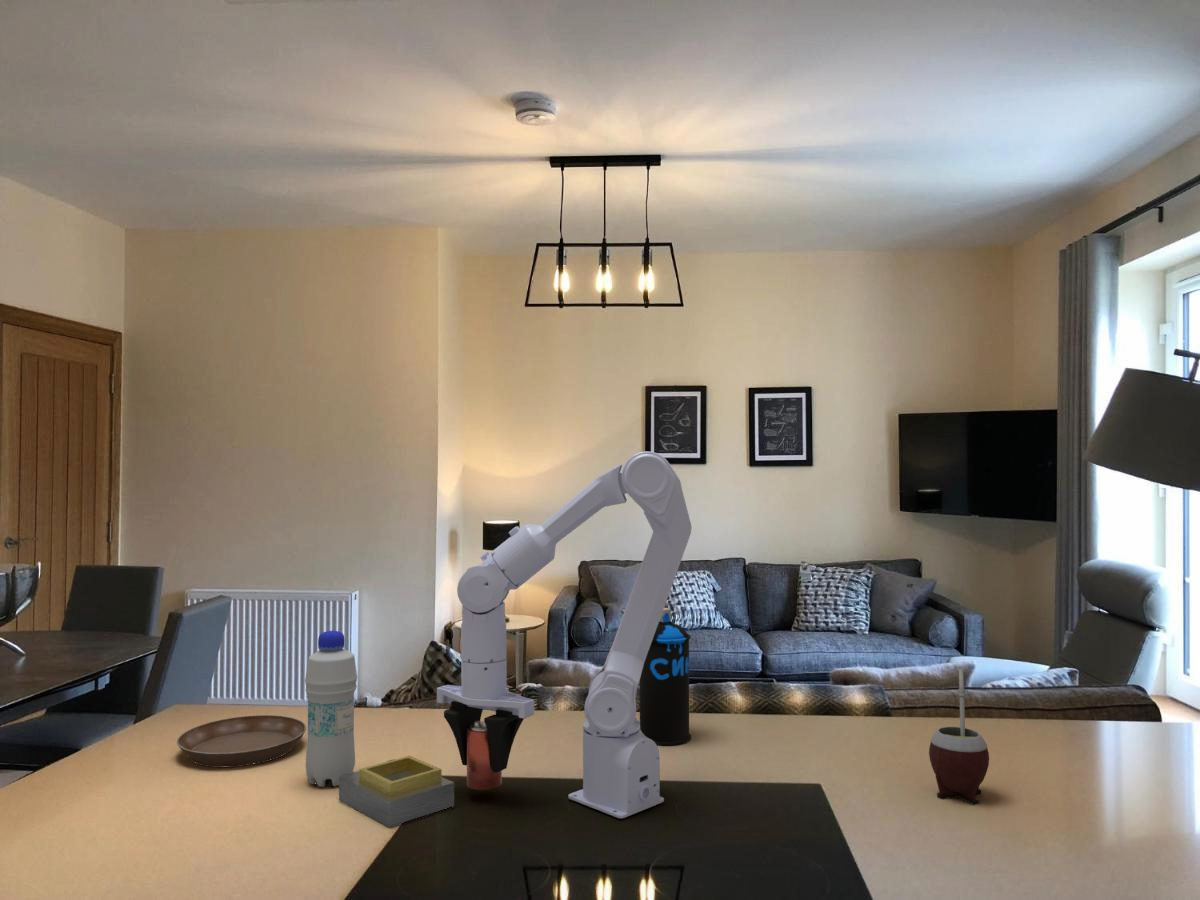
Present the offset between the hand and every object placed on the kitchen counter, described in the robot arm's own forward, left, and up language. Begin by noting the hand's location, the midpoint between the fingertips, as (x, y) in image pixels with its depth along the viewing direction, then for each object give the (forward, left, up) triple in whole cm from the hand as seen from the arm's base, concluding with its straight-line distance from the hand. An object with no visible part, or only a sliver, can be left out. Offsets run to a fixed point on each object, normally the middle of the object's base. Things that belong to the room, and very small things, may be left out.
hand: (484, 766), depth 110 cm
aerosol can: (0, -35, -4) cm, 35 cm away
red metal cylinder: (0, 0, -2) cm, 2 cm away
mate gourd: (-42, -44, -4) cm, 61 cm away
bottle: (+19, +11, -4) cm, 22 cm away
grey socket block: (+6, +9, -4) cm, 12 cm away
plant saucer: (+40, +14, -4) cm, 43 cm away
